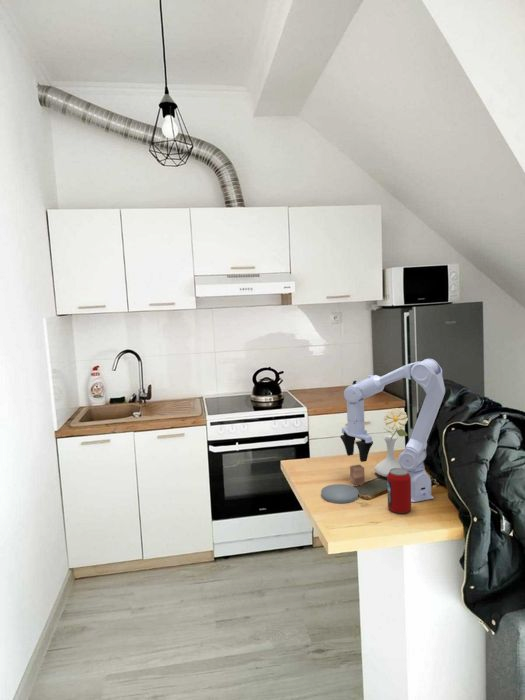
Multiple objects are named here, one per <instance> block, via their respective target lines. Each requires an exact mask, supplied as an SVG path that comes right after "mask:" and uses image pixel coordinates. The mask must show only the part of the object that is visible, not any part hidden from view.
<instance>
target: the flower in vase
mask: <svg viewBox="0 0 525 700" xmlns="http://www.w3.org/2000/svg"><path fill="white" fill-rule="evenodd" d="M408 420H409V418H408V415H407V412H405V410H403V409H402V408H398V407H396V408H391V409H389V410H387V411H386V412H385V415H384V417H383V421H384V424H385V426H386V427H387V428H388V429H391V430H393V431H394V433H392V432H391V430H388V429H386V428H385V427H384V426H383V430H385V431H387V432H388V433H390V434H391V435H384V436H382V437H383V440H384V442H385V443H386V450H387V451H386V453H387V454H386V457H385V458H384V459H383V460H382V461H379V462H378V463H377V464H376V465H375V467H374V472H375V473H376V474H377V475H378V476H380V477H385V478H387V475H388V473H389V472H390V469H393V468H401V466H400V464H399V462H398V459H397V458H395V443H396V441H397V440H398V436H399V437H407V436H408V433H407V432H406V431H405V430H404V428H405V426H406V424H407V422H408ZM396 433H397V435H398V436H396V435H395V434H396Z"/></svg>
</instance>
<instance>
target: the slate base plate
mask: <svg viewBox="0 0 525 700" xmlns="http://www.w3.org/2000/svg"><path fill="white" fill-rule="evenodd" d="M320 493H321V498H322V499H323V500H324V501H326V502H328V503H332V504H349V503H353V502H355V500H356V501H357V500H358V499H359V497H358V494H359V489H357V487H356V486H354V485H349V484H342V483H337V484H336V483H335V484H334V483H333V484H330V485H326V486H324V487H322V488H321V490H320ZM359 495H360V494H359Z"/></svg>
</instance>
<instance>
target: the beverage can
mask: <svg viewBox="0 0 525 700" xmlns="http://www.w3.org/2000/svg"><path fill="white" fill-rule="evenodd" d="M386 478H387V479H386V481H387V482H386V483H387V484H386V485H387V486H386V487H387V508H388V509H389V510H390V511H392V512H394V513H396V514H405V513H408V512H410V511H411V509H412V502H411V477H410V475H409V473H408V471H407V470H406V469H402V468H393V469H390V472H389V473H388V475H387V477H386Z"/></svg>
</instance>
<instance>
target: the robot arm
mask: <svg viewBox="0 0 525 700" xmlns="http://www.w3.org/2000/svg"><path fill="white" fill-rule="evenodd" d="M402 379H407V380H412V379H413V380H414V381H415V383H417V384H418V385H419V386H420V387H421V388H422V390H423V391H424V392H425V397H424V400H423V403H422V405H421V408H420V411H419V413H418V417H417V420H416V422H415V424H414V427H413V430H412V433H411V435H410V438H409V440H408V441H407V443H406V445H405V447H404V449H403V450H402V451H401V452H400V453H399V455H398V458H397V460H398V462H399V464H400V466H401V468H402V469H406V470H407V471H408V473H409V475H410V477H411V503H417V502H422V501H428V500H432V499H434V496H433V495H432V479H431V477H430V475H428V474H427V472H426V469H425V463H424V461H425V460H426V458H427V446H428V442H427V441H429V440H428V439H429V436H430V433H431V431H432V430H433V429H432V428H433V427H434V426H433V425H434V423H435V420H436V418H437V416H438V413H439V409H440V408H441V405H442V402H443V400H444V396H445V394H446V387H445V381H444V378H443V369H442V367H441V366H440V364H439V363H438V362H437V361H436V360H435V359H432V358H425V359H423V360H422V361H420V360H419V361H415V362H412V363H408V364H405V365H402V366H401V367H399V368H397V369H394V370H392V371H390V372H388V373H387V374H384V375H382V376H379V375H377V374H374V375H373V374H369V375H367V377H366V379H365V378H364V379H363V380H357V381H355V383H354V384H352V385H349V386H347V387H346V388H345V389H344V390H343V396H344V399H345V400H346V416H347V417H346V418H347V419H346V421H347V426H344V427H341V435H340V440H341V441H342V443H343V445H344V448H345V452H346V455H347V456H348V457H349V456H353V455H354V452H355V444H356V446H357V448H358V449H357V450H358V454H359V461H360V463H365V462H367V460H368V456H369V452H370V450H371V448H372V446H373V444H374V441H373V437H372V435H369V434H368V430H366V429H365V399H366V398H369V397H371V396H374V395H377V394H378V393H381V392H383V391H384V388H385V386H387V385H389V384H391V383H394V382H397V381H399V380H402ZM356 439H359V441H356Z"/></svg>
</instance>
